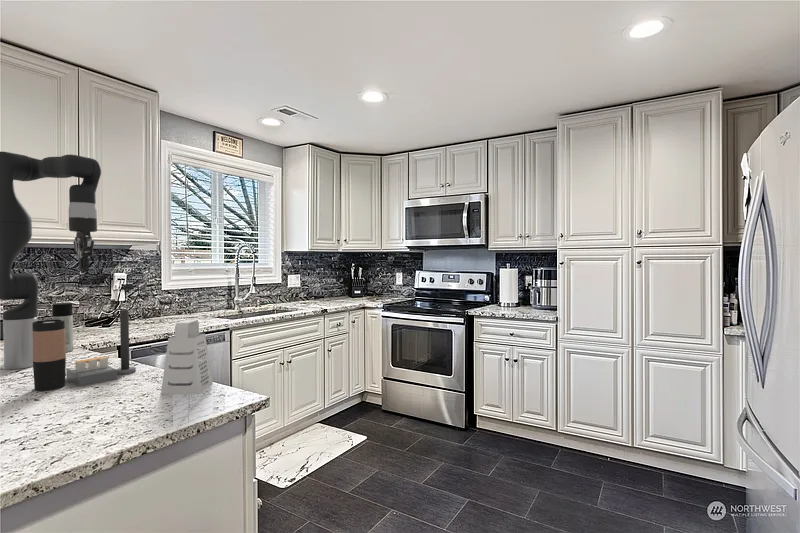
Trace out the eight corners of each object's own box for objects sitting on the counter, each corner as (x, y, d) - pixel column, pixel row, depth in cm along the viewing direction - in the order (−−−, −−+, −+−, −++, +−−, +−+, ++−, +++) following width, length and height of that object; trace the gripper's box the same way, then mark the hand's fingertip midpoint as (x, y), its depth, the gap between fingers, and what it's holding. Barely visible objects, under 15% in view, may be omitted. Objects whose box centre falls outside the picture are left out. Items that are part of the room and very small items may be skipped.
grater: (212, 382, 133) (212, 318, 133) (198, 393, 123) (197, 324, 122) (178, 383, 133) (177, 319, 133) (160, 394, 123) (159, 324, 122)
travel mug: (27, 392, 124) (26, 323, 123) (41, 385, 131) (40, 319, 131) (58, 390, 126) (57, 322, 125) (71, 383, 133) (69, 318, 133)
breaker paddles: (75, 370, 135) (75, 360, 134) (106, 365, 141) (106, 356, 141) (76, 372, 134) (77, 362, 133) (107, 366, 141) (108, 357, 140)
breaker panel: (66, 378, 138) (66, 368, 138) (102, 371, 146) (102, 362, 146) (79, 386, 130) (79, 376, 130) (117, 379, 137) (117, 369, 137)
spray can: (77, 349, 180) (76, 302, 180) (63, 353, 174) (62, 304, 173) (63, 349, 181) (62, 302, 180) (48, 353, 174) (47, 304, 174)
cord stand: (111, 372, 145) (110, 310, 144) (131, 369, 149) (130, 308, 149) (118, 376, 141) (117, 311, 141) (138, 372, 146) (137, 309, 145)
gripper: (63, 217, 143) (64, 269, 144) (75, 215, 135) (76, 270, 135) (90, 219, 149) (91, 268, 150) (103, 216, 141) (104, 269, 141)
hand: (84, 269), depth 142 cm, fingers closed
